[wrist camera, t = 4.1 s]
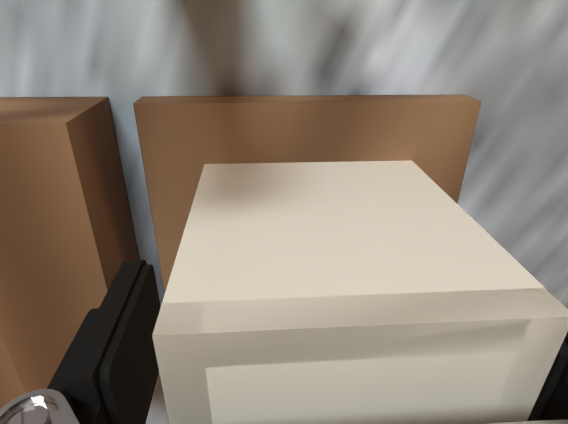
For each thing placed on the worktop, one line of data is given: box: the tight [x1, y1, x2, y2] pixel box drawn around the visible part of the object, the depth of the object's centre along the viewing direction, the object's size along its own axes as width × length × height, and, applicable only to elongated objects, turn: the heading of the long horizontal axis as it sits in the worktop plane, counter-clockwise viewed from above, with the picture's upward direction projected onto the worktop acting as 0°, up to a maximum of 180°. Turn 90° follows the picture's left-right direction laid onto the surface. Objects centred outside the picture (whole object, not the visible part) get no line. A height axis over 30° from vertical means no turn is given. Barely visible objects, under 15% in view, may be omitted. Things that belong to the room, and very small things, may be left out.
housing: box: [152, 160, 568, 424], centre depth 10 cm, size 6×6×7 cm
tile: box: [133, 95, 481, 292], centre depth 12 cm, size 10×10×6 cm
